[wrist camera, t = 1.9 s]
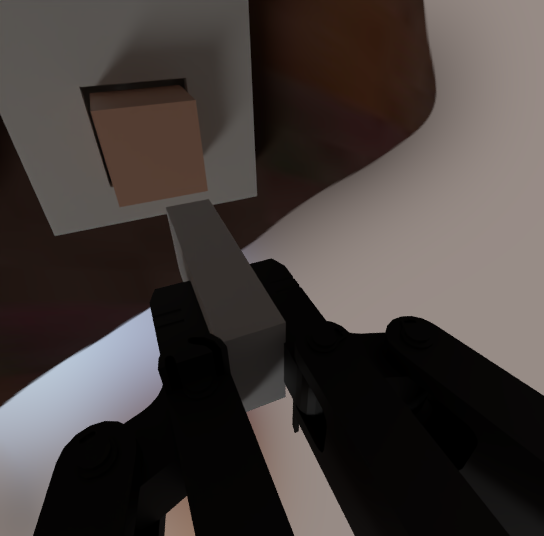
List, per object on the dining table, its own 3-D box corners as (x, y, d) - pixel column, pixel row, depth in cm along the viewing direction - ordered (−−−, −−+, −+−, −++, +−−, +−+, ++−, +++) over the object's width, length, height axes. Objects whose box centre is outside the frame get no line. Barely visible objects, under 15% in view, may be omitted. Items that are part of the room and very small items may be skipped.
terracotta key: (89, 93, 20) (90, 111, 17) (179, 84, 22) (195, 99, 18) (114, 177, 23) (119, 207, 20) (191, 165, 25) (207, 190, 21)
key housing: (-173, -340, 13) (-249, -440, 10) (208, -263, 17) (234, -318, 14) (58, 209, 26) (54, 235, 23) (240, 176, 30) (256, 195, 27)
